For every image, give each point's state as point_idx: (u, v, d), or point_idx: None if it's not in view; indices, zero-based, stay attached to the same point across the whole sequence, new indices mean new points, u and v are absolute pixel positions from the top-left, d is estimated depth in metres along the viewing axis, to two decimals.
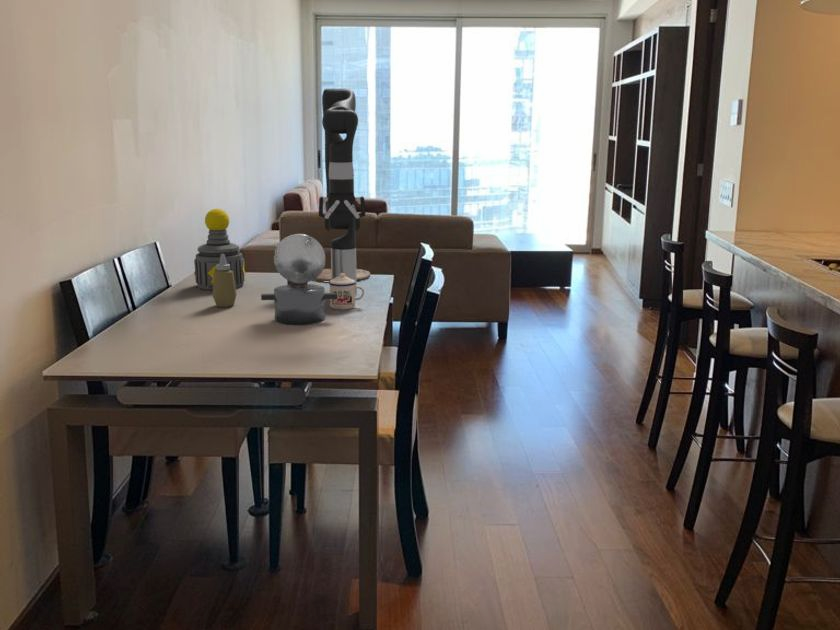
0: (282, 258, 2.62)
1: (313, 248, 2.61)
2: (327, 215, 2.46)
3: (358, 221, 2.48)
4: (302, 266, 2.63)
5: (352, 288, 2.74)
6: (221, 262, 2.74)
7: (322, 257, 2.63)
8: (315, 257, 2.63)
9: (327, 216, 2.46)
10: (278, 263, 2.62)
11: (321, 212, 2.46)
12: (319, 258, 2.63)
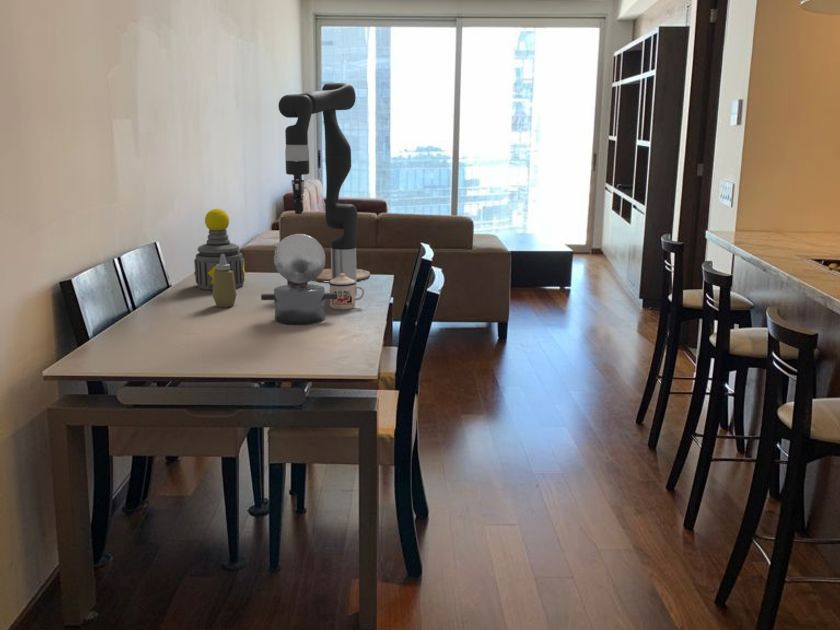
0: (282, 258, 2.62)
1: (313, 248, 2.61)
2: None
3: None
4: (302, 266, 2.63)
5: (352, 288, 2.74)
6: (221, 262, 2.74)
7: (322, 257, 2.63)
8: (315, 257, 2.63)
9: None
10: (278, 263, 2.62)
11: (301, 196, 2.57)
12: (319, 258, 2.63)
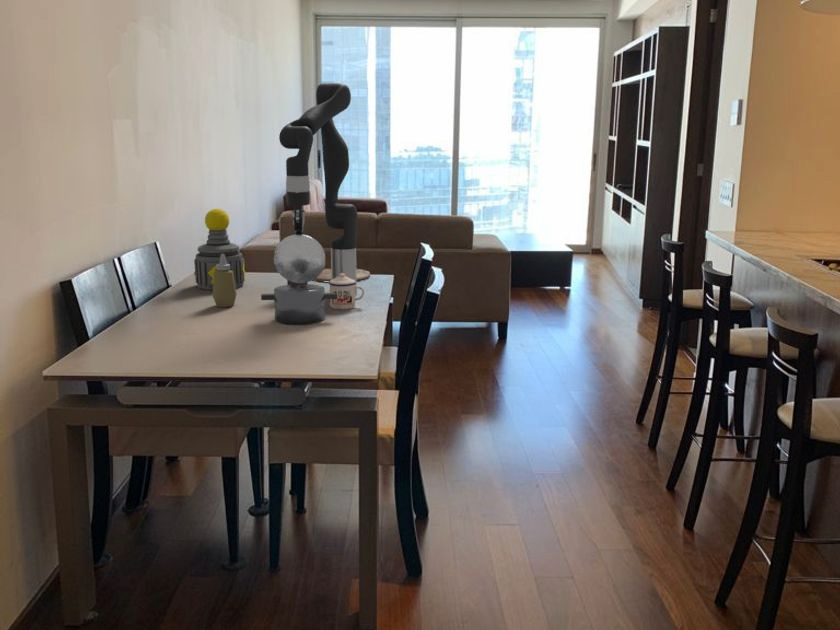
0: (282, 258, 2.62)
1: (313, 248, 2.61)
2: (302, 228, 2.61)
3: None
4: (302, 266, 2.63)
5: (352, 288, 2.74)
6: (221, 262, 2.74)
7: (322, 257, 2.63)
8: (315, 258, 2.62)
9: (302, 229, 2.62)
10: (278, 263, 2.62)
11: (302, 227, 2.59)
12: (318, 259, 2.63)
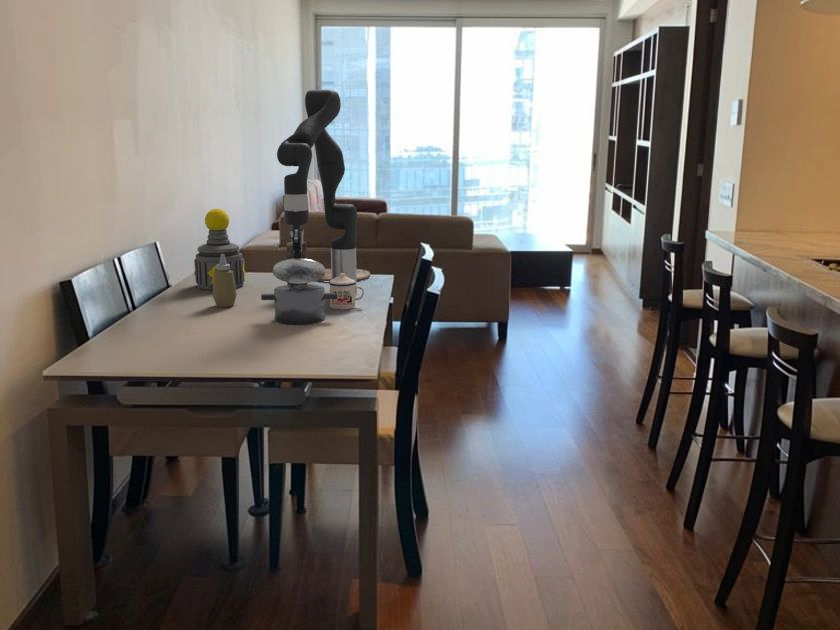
0: (281, 272, 2.57)
1: (312, 268, 2.55)
2: (301, 248, 2.53)
3: None
4: (302, 276, 2.60)
5: (352, 288, 2.74)
6: (221, 262, 2.74)
7: (322, 272, 2.58)
8: (314, 272, 2.58)
9: (301, 249, 2.53)
10: (277, 275, 2.59)
11: (300, 246, 2.51)
12: (318, 272, 2.58)
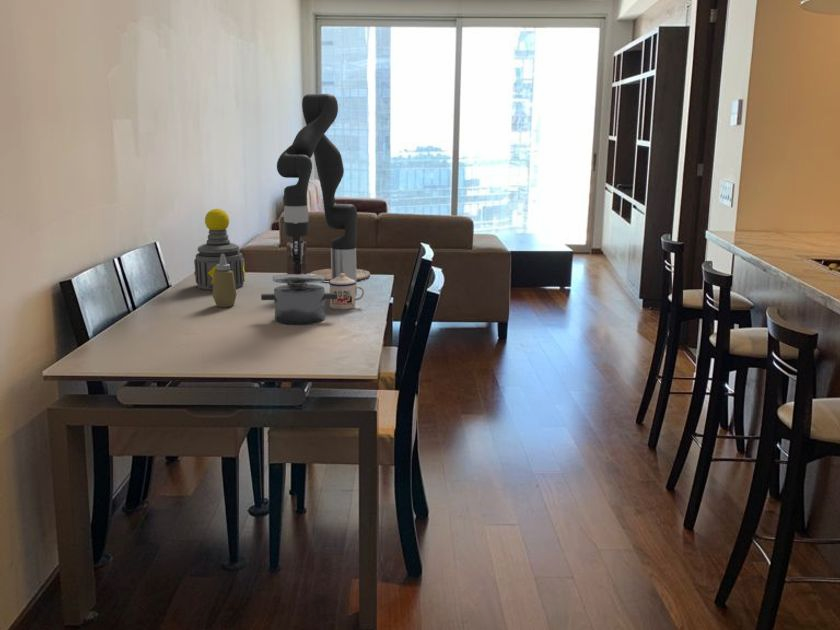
0: (281, 280, 2.57)
1: (312, 279, 2.54)
2: None
3: None
4: (302, 281, 2.60)
5: (352, 288, 2.74)
6: (221, 262, 2.74)
7: (322, 280, 2.57)
8: (314, 280, 2.57)
9: None
10: (277, 281, 2.58)
11: (300, 258, 2.50)
12: (318, 280, 2.58)
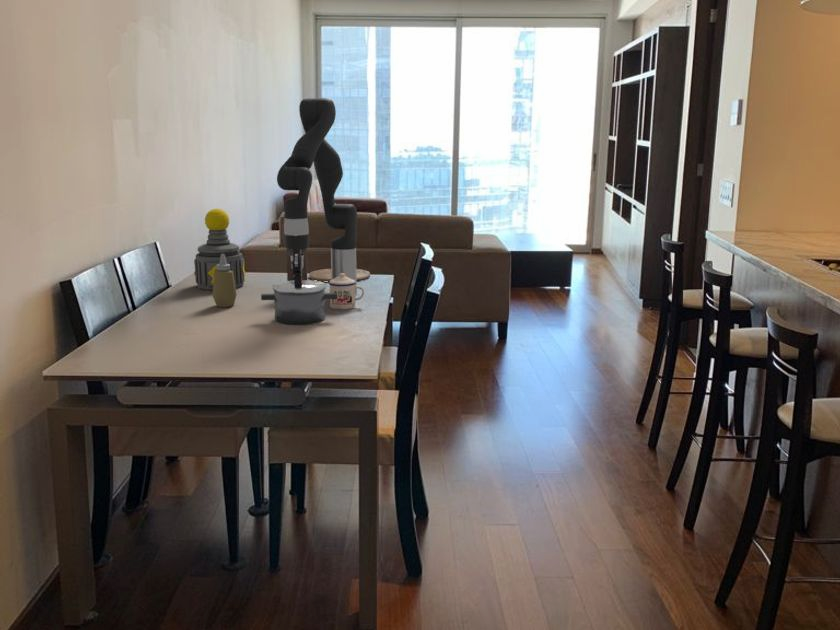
0: None
1: None
2: None
3: None
4: None
5: (352, 288, 2.74)
6: (221, 262, 2.74)
7: None
8: None
9: (301, 273, 2.52)
10: None
11: (301, 271, 2.49)
12: None
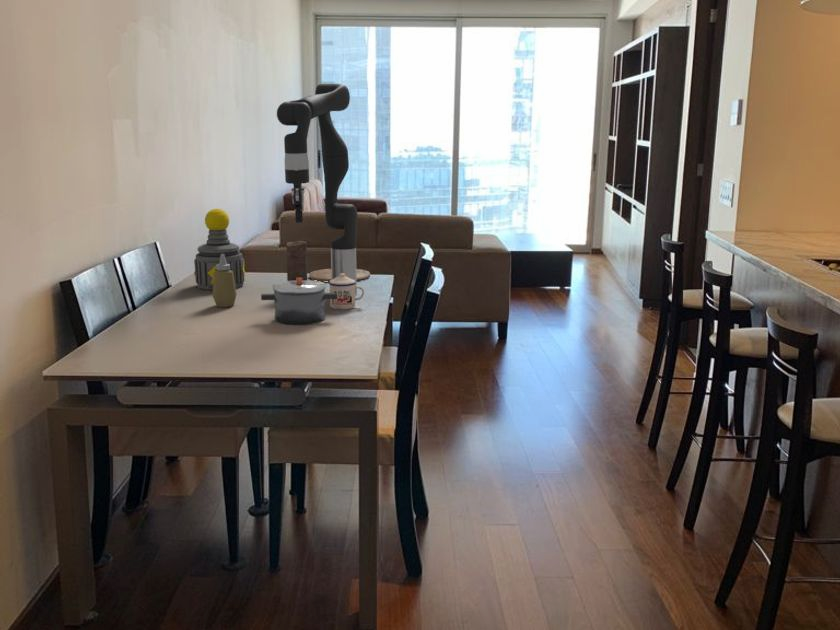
0: None
1: None
2: (302, 207, 2.57)
3: None
4: None
5: (352, 288, 2.74)
6: (221, 262, 2.74)
7: None
8: None
9: (302, 208, 2.57)
10: None
11: (301, 205, 2.55)
12: None
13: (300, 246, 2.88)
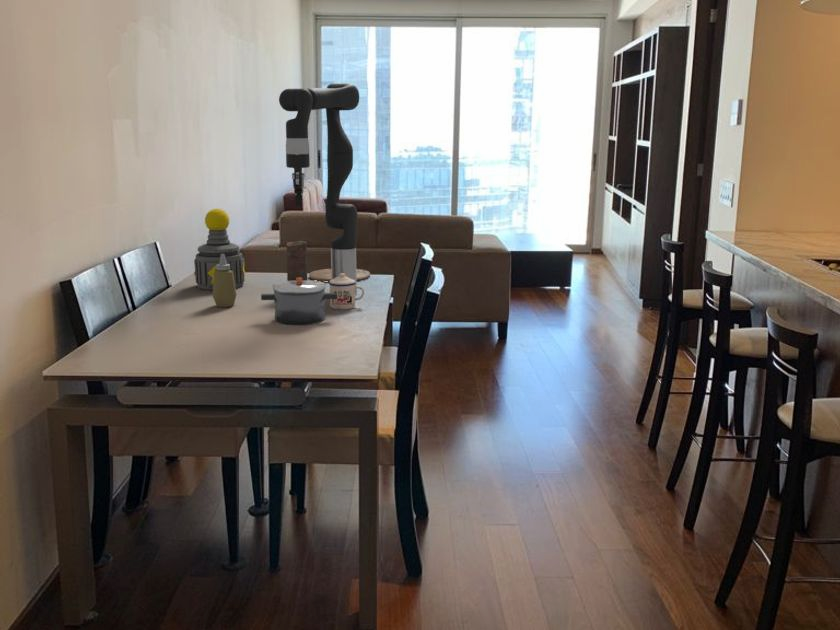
0: None
1: None
2: (302, 191, 2.63)
3: None
4: None
5: (352, 288, 2.74)
6: (221, 262, 2.74)
7: None
8: None
9: (302, 192, 2.63)
10: None
11: (301, 189, 2.60)
12: None
13: (300, 246, 2.88)
